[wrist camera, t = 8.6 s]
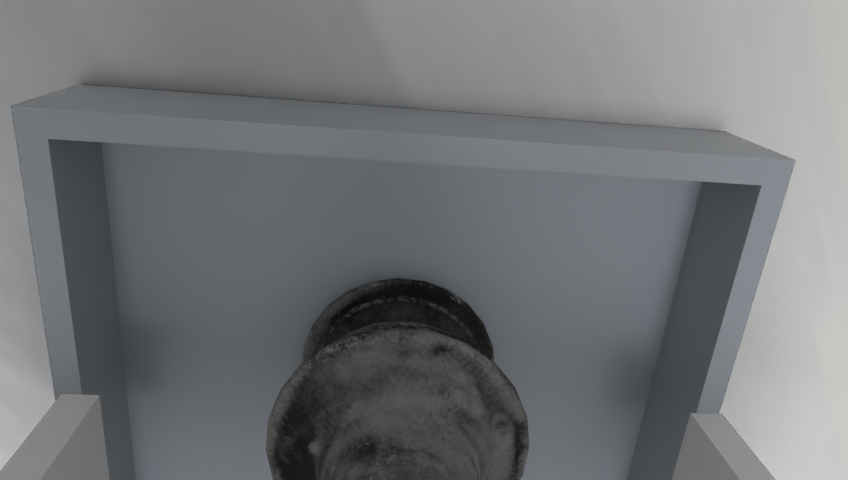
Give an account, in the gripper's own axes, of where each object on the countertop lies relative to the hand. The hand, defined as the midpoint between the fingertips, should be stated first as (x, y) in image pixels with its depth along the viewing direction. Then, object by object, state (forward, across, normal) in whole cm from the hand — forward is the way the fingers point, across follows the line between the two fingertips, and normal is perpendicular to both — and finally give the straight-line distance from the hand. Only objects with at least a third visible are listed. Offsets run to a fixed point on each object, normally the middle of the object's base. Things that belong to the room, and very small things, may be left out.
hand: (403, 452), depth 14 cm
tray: (+4, 0, 0) cm, 4 cm away
